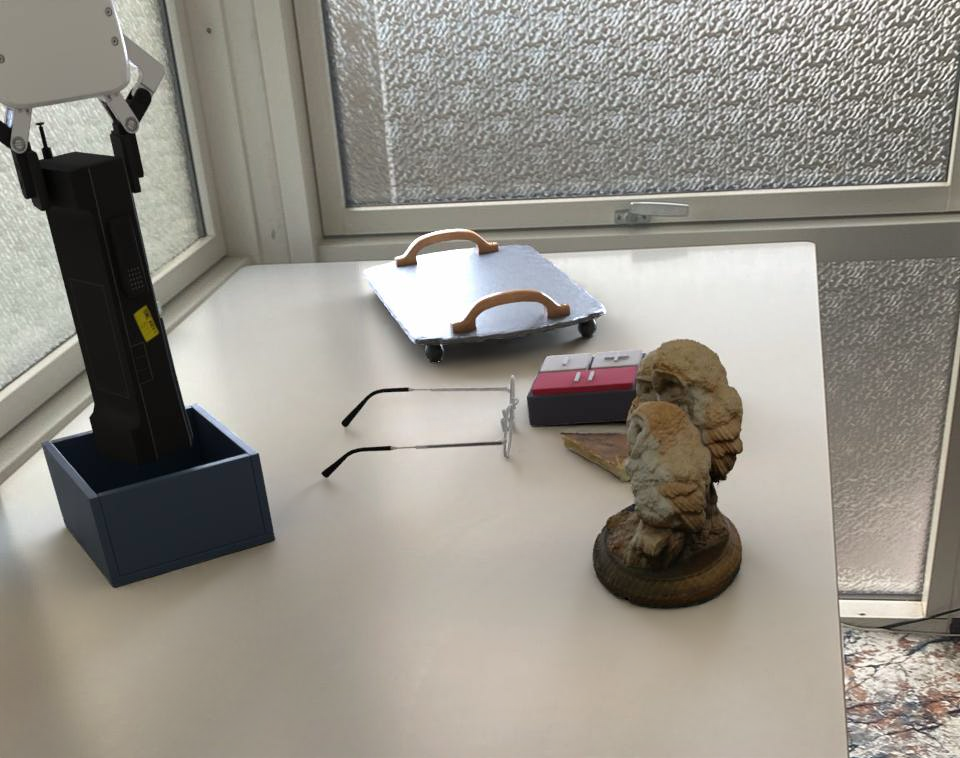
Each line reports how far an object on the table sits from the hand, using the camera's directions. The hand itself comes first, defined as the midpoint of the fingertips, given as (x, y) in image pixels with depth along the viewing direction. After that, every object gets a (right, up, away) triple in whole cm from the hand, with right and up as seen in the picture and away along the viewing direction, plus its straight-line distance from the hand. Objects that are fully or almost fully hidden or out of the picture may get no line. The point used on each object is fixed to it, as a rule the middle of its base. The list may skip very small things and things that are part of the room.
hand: (86, 196), depth 102 cm
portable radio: (+2, -16, +13) cm, 20 cm away
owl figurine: (+45, -27, +5) cm, 53 cm away
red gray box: (+43, -5, +33) cm, 55 cm away
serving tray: (+30, +16, +62) cm, 70 cm away
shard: (+43, -15, +21) cm, 50 cm away
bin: (+2, -22, +17) cm, 28 cm away
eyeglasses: (+25, -11, +28) cm, 39 cm away
